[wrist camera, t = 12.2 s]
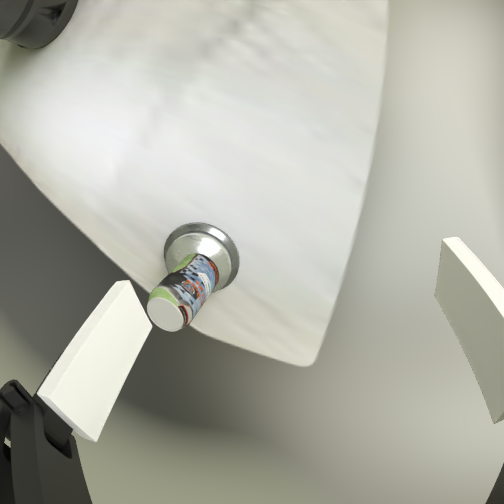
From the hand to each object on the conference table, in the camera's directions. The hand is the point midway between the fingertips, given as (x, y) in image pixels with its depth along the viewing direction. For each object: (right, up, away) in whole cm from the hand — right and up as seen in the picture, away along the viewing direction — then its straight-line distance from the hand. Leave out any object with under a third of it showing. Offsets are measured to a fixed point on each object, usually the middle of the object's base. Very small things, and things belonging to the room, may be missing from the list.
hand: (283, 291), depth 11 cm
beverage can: (-9, -1, +32) cm, 33 cm away
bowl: (-9, +1, +34) cm, 35 cm away
